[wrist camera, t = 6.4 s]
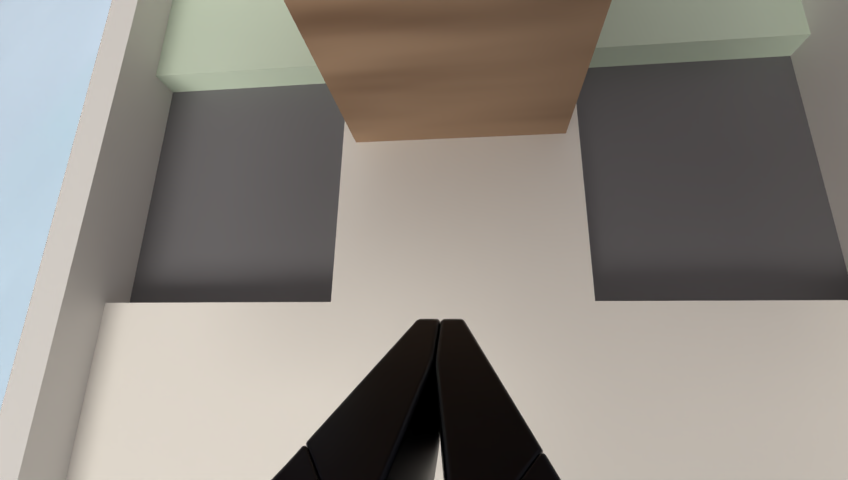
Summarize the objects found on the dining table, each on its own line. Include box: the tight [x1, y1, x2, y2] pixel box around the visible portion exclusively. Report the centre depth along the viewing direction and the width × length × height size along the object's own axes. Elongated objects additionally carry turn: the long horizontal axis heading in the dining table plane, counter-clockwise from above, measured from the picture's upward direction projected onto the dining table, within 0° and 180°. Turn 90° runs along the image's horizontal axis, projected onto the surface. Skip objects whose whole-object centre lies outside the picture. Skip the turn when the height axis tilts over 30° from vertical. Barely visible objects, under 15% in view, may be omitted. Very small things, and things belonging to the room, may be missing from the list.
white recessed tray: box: [0, 0, 848, 480], centre depth 16 cm, size 34×29×3 cm
